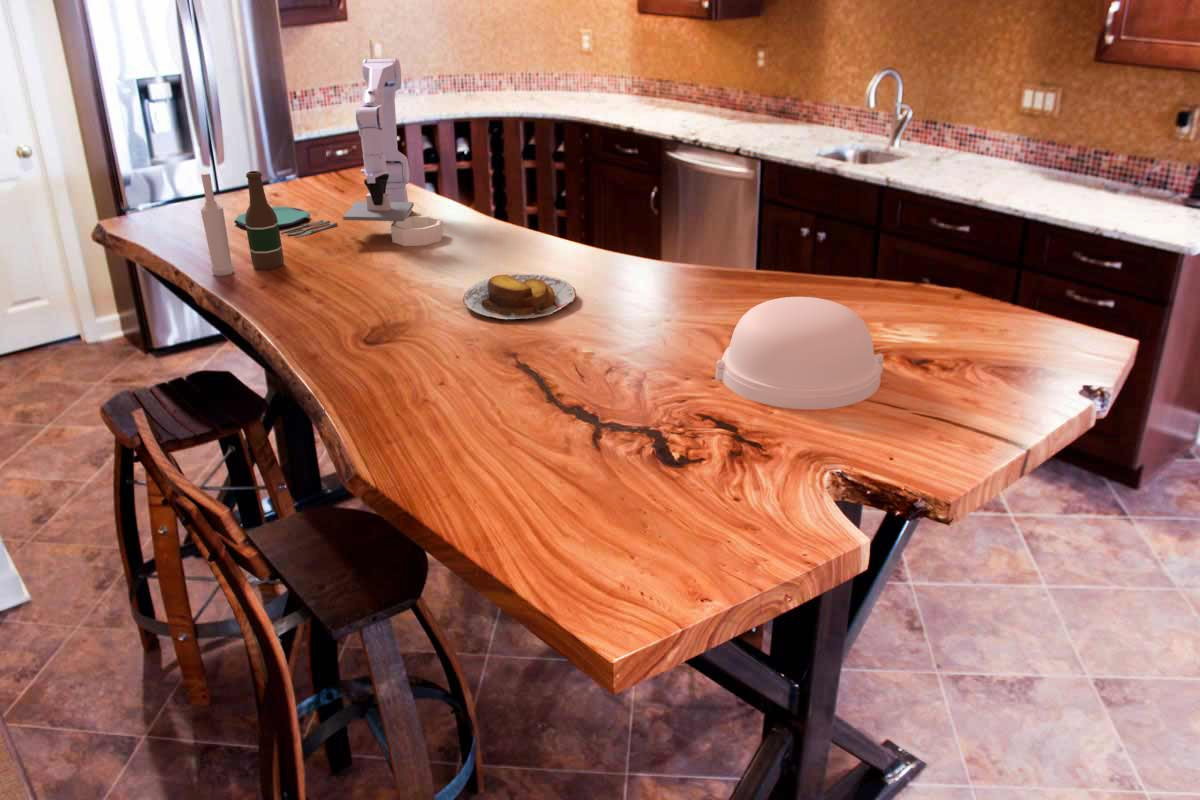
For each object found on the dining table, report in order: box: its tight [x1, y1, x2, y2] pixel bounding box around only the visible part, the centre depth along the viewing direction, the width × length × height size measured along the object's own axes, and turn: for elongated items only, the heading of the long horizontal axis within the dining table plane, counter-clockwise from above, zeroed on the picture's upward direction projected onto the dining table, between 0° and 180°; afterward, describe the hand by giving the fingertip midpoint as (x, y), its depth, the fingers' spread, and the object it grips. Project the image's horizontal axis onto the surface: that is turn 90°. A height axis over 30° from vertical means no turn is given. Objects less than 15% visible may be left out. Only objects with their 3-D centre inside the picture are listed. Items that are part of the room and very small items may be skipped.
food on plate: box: [461, 273, 577, 321], centre depth 238 cm, size 25×25×7 cm
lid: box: [342, 192, 415, 222], centre depth 286 cm, size 16×16×5 cm
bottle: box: [200, 172, 234, 277], centre depth 259 cm, size 5×5×25 cm
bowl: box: [390, 215, 444, 247], centre depth 287 cm, size 13×13×4 cm
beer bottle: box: [245, 170, 285, 271], centre depth 264 cm, size 8×8×24 cm
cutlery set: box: [234, 206, 338, 239], centre depth 304 cm, size 20×30×2 cm, turn 51°
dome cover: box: [715, 296, 884, 410], centre depth 197 cm, size 32×30×14 cm
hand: (379, 203), depth 286 cm, fingers closed on lid, 2 cm apart
